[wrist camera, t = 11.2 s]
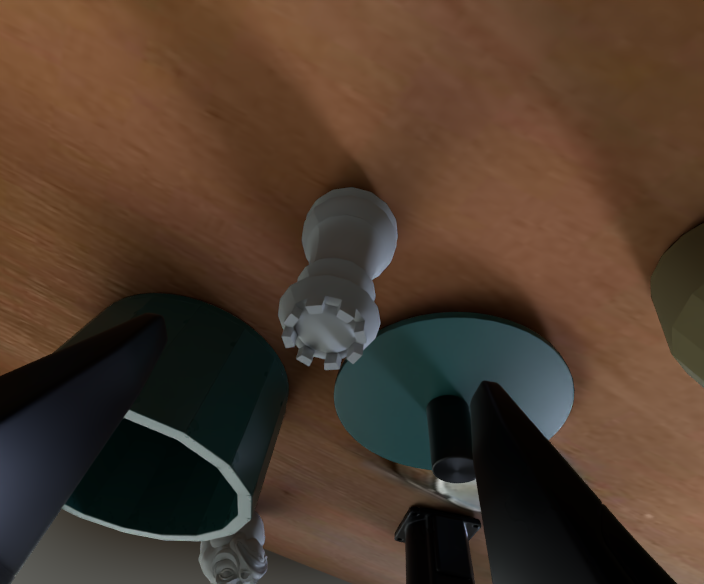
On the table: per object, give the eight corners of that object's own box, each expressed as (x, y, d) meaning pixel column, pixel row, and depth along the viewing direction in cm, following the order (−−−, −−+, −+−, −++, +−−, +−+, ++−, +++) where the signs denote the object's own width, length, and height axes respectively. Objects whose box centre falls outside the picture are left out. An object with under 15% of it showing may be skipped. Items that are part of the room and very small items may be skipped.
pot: (296, 318, 20) (253, 432, 14) (283, 447, 28) (251, 557, 22) (67, 272, 20) (-80, 366, 14) (117, 414, 28) (37, 515, 21)
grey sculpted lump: (293, 517, 35) (273, 608, 29) (241, 526, 37) (213, 611, 31) (257, 488, 32) (227, 581, 26) (203, 499, 34) (164, 587, 29)
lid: (619, 335, 18) (686, 415, 14) (505, 472, 27) (526, 549, 22) (357, 280, 18) (346, 346, 14) (323, 435, 26) (309, 506, 22)
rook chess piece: (288, 226, 17) (219, 330, 10) (353, 162, 15) (320, 241, 8) (350, 284, 18) (325, 408, 12) (417, 234, 16) (432, 349, 10)
